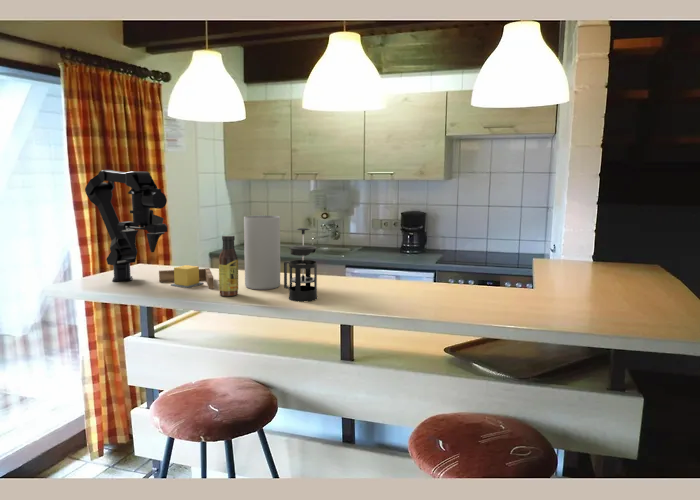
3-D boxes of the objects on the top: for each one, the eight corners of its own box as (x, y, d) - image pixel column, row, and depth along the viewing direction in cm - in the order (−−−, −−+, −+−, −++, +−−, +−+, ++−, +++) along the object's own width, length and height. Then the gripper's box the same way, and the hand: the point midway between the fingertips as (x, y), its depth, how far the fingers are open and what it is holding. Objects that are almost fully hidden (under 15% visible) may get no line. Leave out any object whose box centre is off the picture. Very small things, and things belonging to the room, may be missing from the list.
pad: (170, 285, 184) (170, 284, 183) (186, 281, 191) (186, 280, 191) (187, 288, 180) (187, 286, 180) (203, 283, 187) (203, 282, 187)
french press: (323, 296, 171) (323, 227, 167) (313, 303, 162) (313, 230, 159) (290, 293, 174) (290, 225, 171) (279, 299, 165) (278, 228, 162)
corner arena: (159, 281, 191) (159, 270, 190) (209, 278, 197) (209, 268, 196) (158, 291, 174) (158, 280, 173) (213, 288, 180) (213, 277, 179)
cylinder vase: (274, 281, 193) (273, 215, 189) (284, 288, 182) (284, 217, 178) (241, 284, 188) (240, 215, 184) (250, 291, 176) (249, 218, 173)
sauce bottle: (233, 297, 167) (232, 237, 164) (215, 296, 168) (214, 236, 165) (241, 293, 174) (240, 234, 171) (224, 292, 175) (223, 234, 172)
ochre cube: (174, 284, 184) (173, 267, 183) (186, 281, 189) (186, 265, 188) (187, 286, 181) (186, 269, 181) (199, 282, 187) (198, 266, 186)
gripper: (178, 207, 184) (179, 250, 187) (140, 205, 192) (141, 246, 195) (154, 209, 174) (155, 254, 177) (115, 206, 182) (117, 250, 185)
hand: (143, 251), depth 183 cm, fingers open, 9 cm apart
